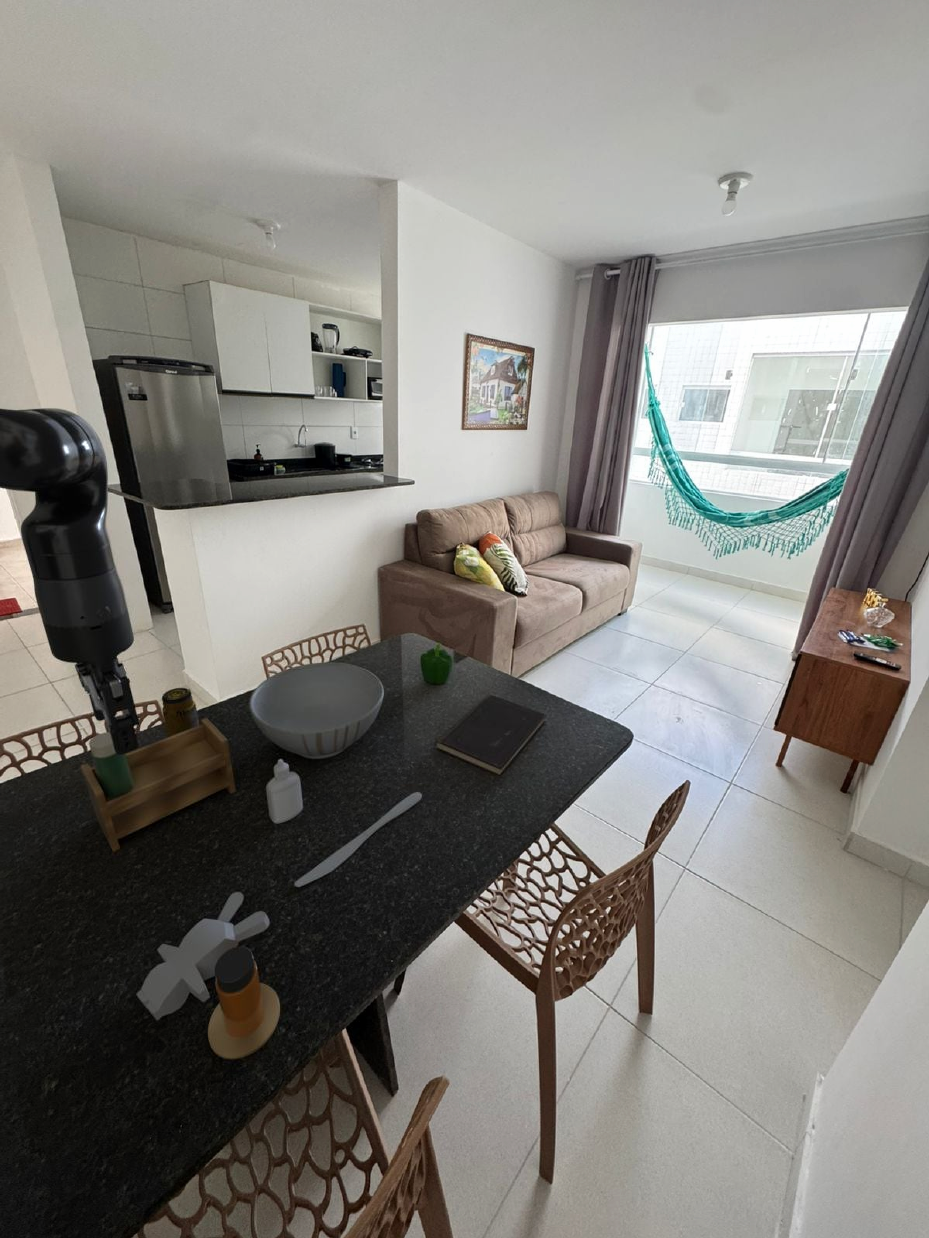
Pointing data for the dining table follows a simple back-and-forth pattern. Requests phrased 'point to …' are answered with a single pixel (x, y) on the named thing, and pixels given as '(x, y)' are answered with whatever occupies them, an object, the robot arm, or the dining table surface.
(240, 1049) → the cork coaster
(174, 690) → the condiment
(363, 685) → the decorative bowl
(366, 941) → the dining table surface
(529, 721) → the hardcover book
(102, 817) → the spice rack
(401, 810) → the butter knife
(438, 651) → the bell pepper
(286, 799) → the eye dropper bottle
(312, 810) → the dining table surface
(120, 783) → the green spice bottle
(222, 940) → the bunny figurine
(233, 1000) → the amber spice bottle
